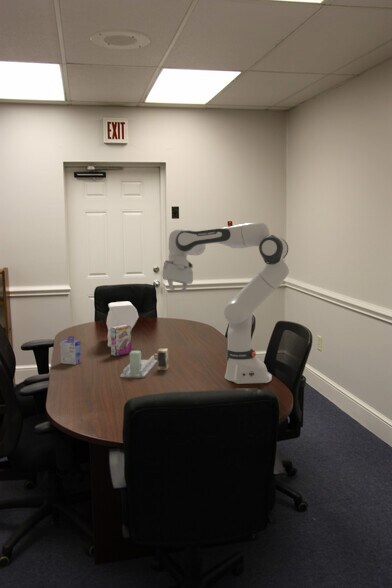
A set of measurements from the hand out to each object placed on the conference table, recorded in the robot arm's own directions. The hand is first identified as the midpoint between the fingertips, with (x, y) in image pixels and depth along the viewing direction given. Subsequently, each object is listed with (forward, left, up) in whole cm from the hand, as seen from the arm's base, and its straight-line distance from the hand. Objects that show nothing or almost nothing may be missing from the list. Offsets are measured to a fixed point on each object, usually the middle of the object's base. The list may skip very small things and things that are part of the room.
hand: (178, 291), depth 238 cm
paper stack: (+47, -61, -42) cm, 88 cm away
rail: (+22, -7, -42) cm, 48 cm away
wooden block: (+10, -9, -42) cm, 44 cm away
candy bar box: (+40, -35, -42) cm, 68 cm away
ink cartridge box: (+63, -15, -42) cm, 77 cm away
